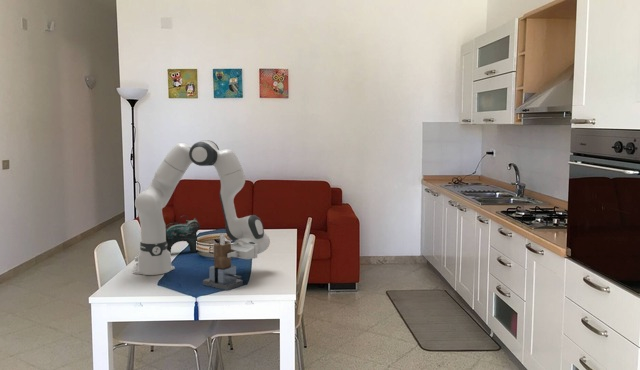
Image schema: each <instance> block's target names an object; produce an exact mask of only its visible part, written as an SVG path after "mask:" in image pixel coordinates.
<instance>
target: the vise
mask: <svg viewBox="0 0 640 370" xmlns="http://www.w3.org/2000/svg"><path fill="white" fill-rule="evenodd" d="M225 235H226V234H224V233H222V234H221V233H220V234H219V243H220V245H225V243H226V237H225ZM208 274H209V278H205V279H203V280H202V286H207V287H210V286H211V288H214V287H215V288H216V289H219V290H224V291H230V290H233V289H235V288H238V287H240V286H243V285H244V280H243V279H241V278H242V276H241V275H237V266H236V265H232V264H231V266H230V267H227V268H224V269H222V268H217V267H214V265H212V266H209V272H208ZM215 288H214V289H215Z"/></svg>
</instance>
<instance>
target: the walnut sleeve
mask: <svg viewBox="0 0 640 370" xmlns="http://www.w3.org/2000/svg"><path fill="white" fill-rule="evenodd" d="M231 244H232V243H229V242H225V245H220V242H218V243H217V242H216V243H213V245H214V253H213V258H214V259H213V266H214V267H217V268H222V269H224V268H227V267H230V266H231V265H232V257H229V258H228V257H226V253H231Z"/></svg>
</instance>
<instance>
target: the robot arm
mask: <svg viewBox="0 0 640 370" xmlns="http://www.w3.org/2000/svg"><path fill="white" fill-rule="evenodd" d="M191 164H195V165H196V166H200V167H207V166H208V167H209V166H210V167H211V166H214V168H215V170H216V172H217V174H218V177H219V181H220V189H219V200H220V205H221V209H222V213H223V218H224V224H225V225H224V227H225V233H226V234H225V235H226V236H227V237H228V238H229V239H230V240H231V241H233V243H231V253H226V257H228V258H229V257H231V258H237V259H241V260H242V259H243V260H251V259H252V260H253V259H258V254H261V253H264V252H265V251H266V250H267V249H268V248H269V247H270V244H271V239H270V237H269V236H268V234H267V233H265V230H264V223H263V222H262V220H261V218H260V217H258V216H257V215H256V214H250V215H246V216H244V217H240V218H239V217H238V216H237V212H236V207H235V203H234V202H235V201H234V199H235V197H236V195H237V194H238V193H239V192H240V191H242V189H243V188H244V186H245V183H246V176H245V173H244V170H243V167H242V165H241V161H240V160H239V158H238V157H237V155H236V153H235V151H234V150H233V149H230V148H225V149H219V146H218V145H217V143H215V142H214V141H213V140H200V141H198V142H195V143H194V144H192V145H190V144H188V143H185V142H177V143H176V144H175V145H174V146H173V147H172V148H171V149H170V150H169V151H168V153H167V154H166V155H165V157H164V158H163V160H162V161H161V163H160V165H159V166H158V168H157V170H156V171H155V173H154V176H153V177H152V178H153V179H152V181H151V182H150V185H149V186H148V187H147V188H146V189H145V190H143V191H141V192H139V194H138V195H137V196H136V198H135V200H134V206H135V209H136V210H137V215H138V219H139V225H140V244H139V250H140V251H139V252H138V255H137V256H134V262H136V263H134V264H133V271H132V272H133V273H132V274H134V275H144V276H156V275H164V274H168V273H169V272H171V271H172V270H173V271H174V270H175V269H176V268H175V266H174V265H173V264H172V256H171V255H172V252H171V253H170V252H169V251H168V250H167V241H166V229H167V228H166V226H167V225H166V222H165V220H164V215H163V208H165V207H166V206H167V204H168V203H169V201H170V199H171V197H172V195H173V193H174V192H175V190H176V187H177V186H178V184H179V182H180V181H181V180H182V179H183V176H184V174H185V173H186V171H187V170H188V169H189V168H190V165H191ZM212 253H213V254H214V244H213V246H212Z"/></svg>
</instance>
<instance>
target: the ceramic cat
mask: <svg viewBox="0 0 640 370" xmlns="http://www.w3.org/2000/svg"><path fill="white" fill-rule="evenodd" d="M183 217H186V218H187V219H185V223H178V222H176V224H175V222H172V223H169V224H167V225H166V241H167V250H168V251H169V252H170V253H171V254H172V248H173V246H174V245H175V244H177V243H180V242H186V243H187V245H188V247H189V251H190V252H191V253H197V252H196V241H197V242H198V235H197V232H198V231H199V230H200V223H199V222H198V219H197V217H194V218H193V220H189V218H188V216H187V215H182V216H180V219H182V218H183ZM173 224H174V225H173Z"/></svg>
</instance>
